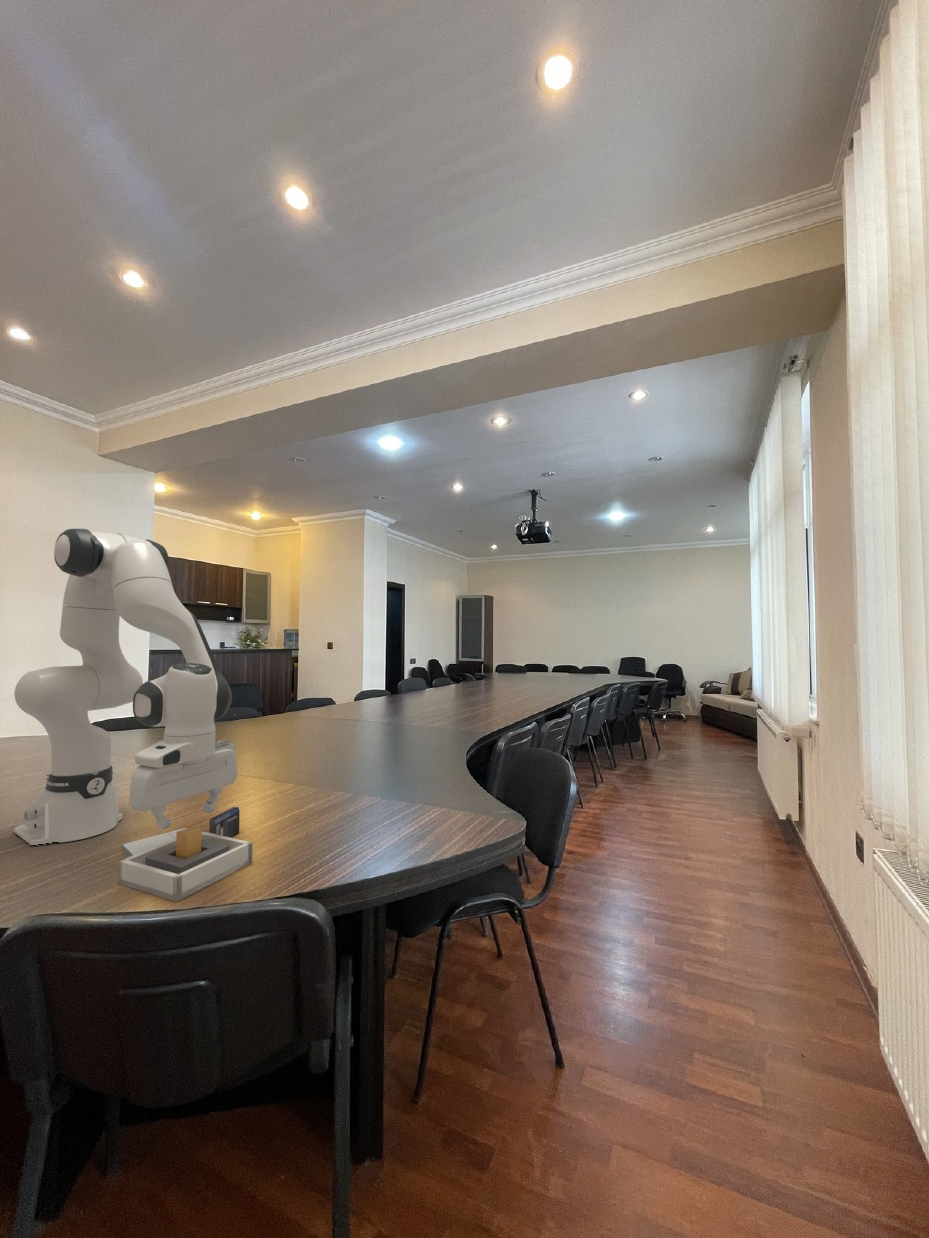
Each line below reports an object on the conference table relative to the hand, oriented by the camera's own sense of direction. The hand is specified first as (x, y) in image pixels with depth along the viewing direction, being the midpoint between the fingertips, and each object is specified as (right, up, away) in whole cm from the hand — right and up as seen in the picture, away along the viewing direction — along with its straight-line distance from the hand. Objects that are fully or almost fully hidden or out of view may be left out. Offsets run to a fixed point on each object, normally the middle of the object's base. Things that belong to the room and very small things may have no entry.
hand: (187, 819), depth 94 cm
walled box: (+1, -10, -1) cm, 10 cm away
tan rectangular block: (+1, -9, -1) cm, 9 cm away
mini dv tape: (0, -11, +15) cm, 19 cm away
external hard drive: (-13, -11, +12) cm, 21 cm away
